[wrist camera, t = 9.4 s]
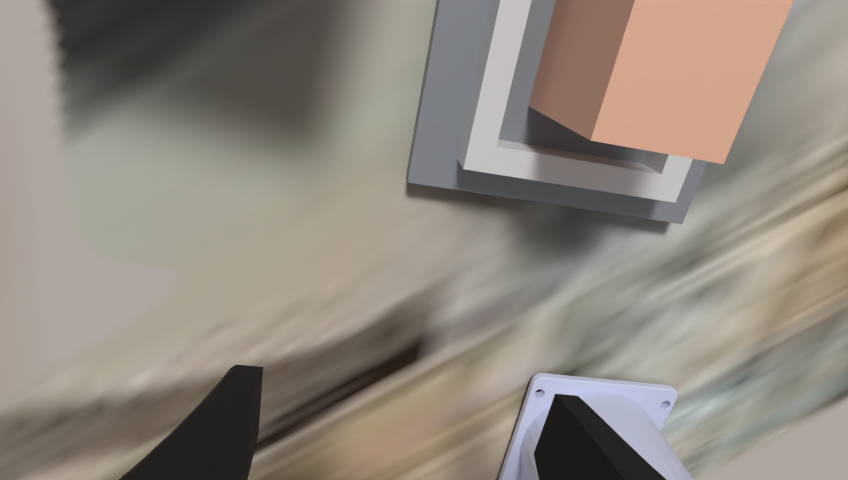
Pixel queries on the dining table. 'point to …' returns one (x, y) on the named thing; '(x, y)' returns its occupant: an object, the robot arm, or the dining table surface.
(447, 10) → the slot stand
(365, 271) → the dining table surface
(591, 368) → the dining table surface
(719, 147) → the key block
